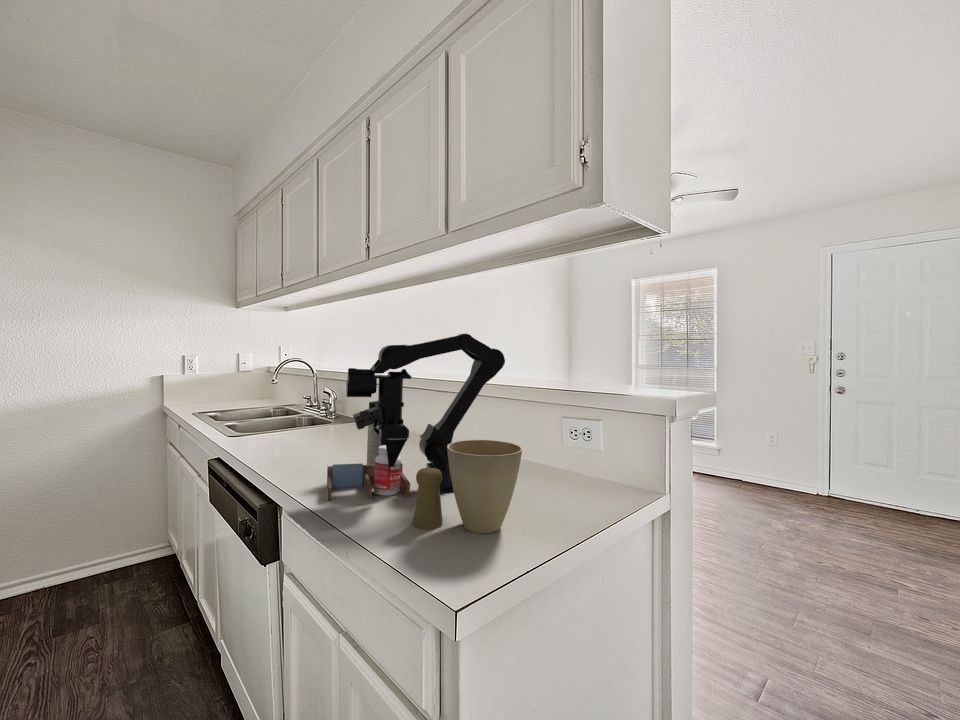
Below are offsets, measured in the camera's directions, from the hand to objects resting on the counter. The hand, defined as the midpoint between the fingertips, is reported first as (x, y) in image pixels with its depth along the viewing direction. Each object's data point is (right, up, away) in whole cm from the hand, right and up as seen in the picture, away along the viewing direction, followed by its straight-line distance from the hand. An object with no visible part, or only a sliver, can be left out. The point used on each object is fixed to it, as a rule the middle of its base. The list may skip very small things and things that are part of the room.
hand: (388, 462), depth 111 cm
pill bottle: (0, -8, 0) cm, 8 cm away
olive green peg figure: (+12, -8, -19) cm, 24 cm away
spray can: (-6, -7, +15) cm, 18 cm away
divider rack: (-5, -7, 0) cm, 9 cm away
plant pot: (+22, -9, -20) cm, 31 cm away
